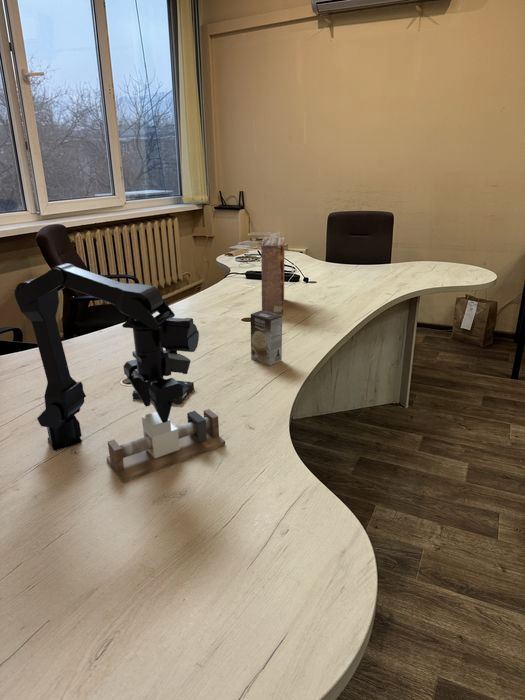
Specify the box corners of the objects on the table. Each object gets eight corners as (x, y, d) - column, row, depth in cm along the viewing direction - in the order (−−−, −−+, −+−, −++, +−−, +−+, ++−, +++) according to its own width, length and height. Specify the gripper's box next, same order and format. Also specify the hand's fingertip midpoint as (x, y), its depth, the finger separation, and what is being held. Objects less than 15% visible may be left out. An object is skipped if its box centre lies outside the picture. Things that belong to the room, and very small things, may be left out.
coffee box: (249, 359, 165) (249, 313, 159) (262, 353, 169) (262, 309, 164) (270, 366, 159) (269, 319, 153) (282, 360, 164) (283, 314, 158)
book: (265, 299, 236) (264, 236, 225) (284, 299, 235) (284, 236, 224) (261, 314, 212) (261, 245, 201) (283, 314, 212) (283, 245, 201)
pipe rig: (122, 482, 102) (119, 456, 100) (106, 460, 110) (103, 436, 107) (225, 444, 115) (224, 420, 113) (204, 427, 123) (203, 404, 121)
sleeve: (154, 458, 108) (151, 426, 105) (145, 447, 112) (141, 416, 109) (179, 449, 111) (176, 417, 108) (169, 439, 115) (166, 408, 112)
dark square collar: (199, 442, 114) (197, 422, 112) (188, 432, 118) (187, 412, 116) (206, 439, 115) (205, 419, 113) (195, 430, 119) (194, 410, 117)
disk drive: (194, 390, 145) (148, 385, 148) (194, 381, 143) (147, 376, 147) (181, 406, 135) (132, 400, 138) (180, 397, 134) (131, 391, 137)
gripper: (204, 352, 99) (208, 419, 105) (165, 328, 113) (171, 389, 119) (153, 364, 93) (160, 436, 99) (119, 338, 107) (127, 401, 113)
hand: (156, 413), depth 108 cm, fingers open, 9 cm apart
